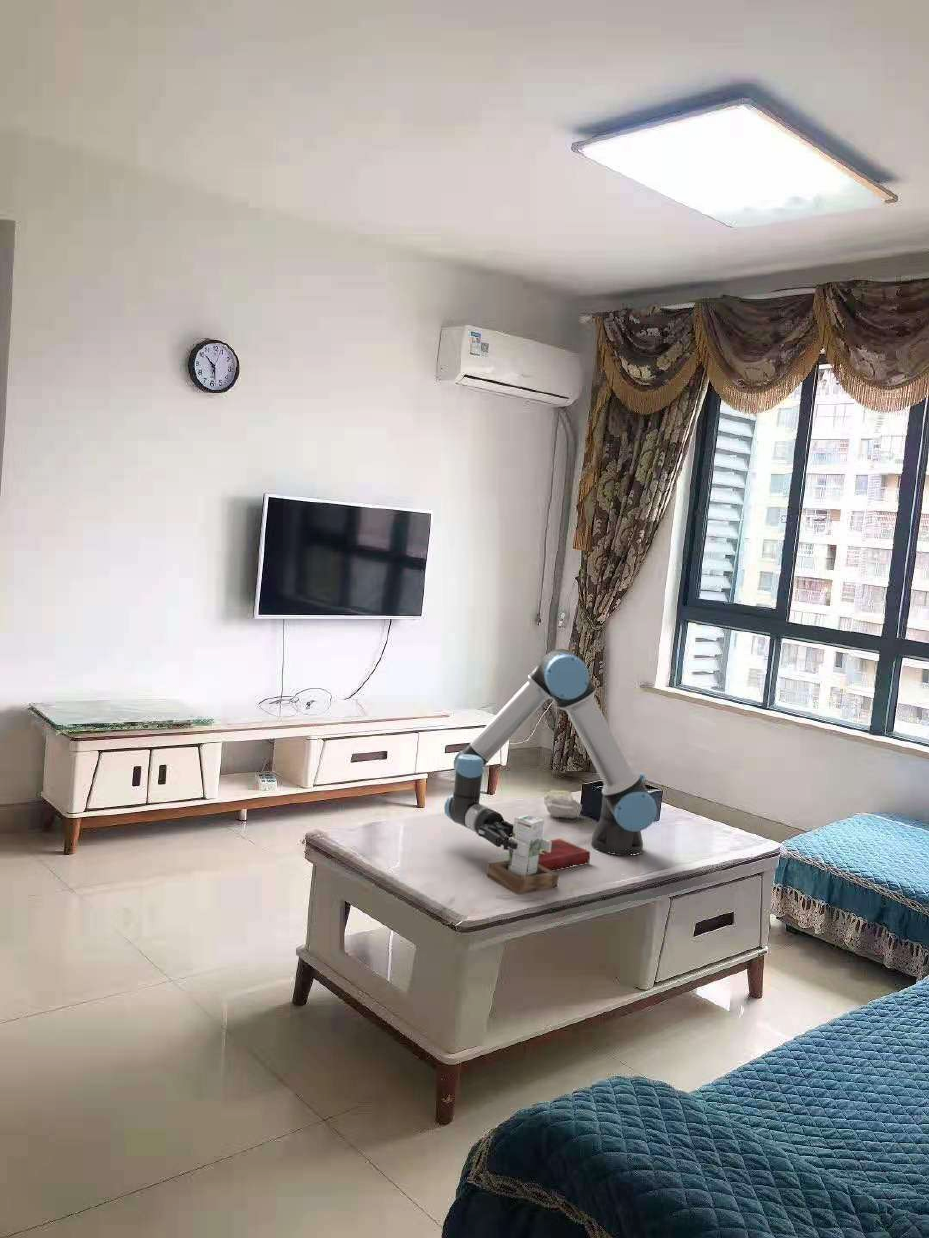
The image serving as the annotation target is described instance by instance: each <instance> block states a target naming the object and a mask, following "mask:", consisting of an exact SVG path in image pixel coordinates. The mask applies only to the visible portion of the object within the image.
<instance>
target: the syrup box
mask: <svg viewBox="0 0 929 1238" xmlns="http://www.w3.org/2000/svg"><path fill="white" fill-rule="evenodd" d="M513 820H514V821H513V825H514V826H513V834H512V837H513V838H515V839H517V840H519V841H521V842H523V843H525V844H527V845H528V851H527V856H524V855H522V854H520V853H518V852H517V851H515V850H513V849H510V857H509V865H508V870H509V871H511V872H513V873H514V874H516V875H519V876H530V875H533V874H535V873H537V870H538V863H539V855H540V848H541V840H542V838H543V832H544V831H543V830H544V825H545V823H544V822H545V820H544V819H542V818H539V817H536V816H533V815H529V814H526V815H525V814H524V815H522V816H519V817H516V818H514V819H513Z"/></svg>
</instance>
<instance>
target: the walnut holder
mask: <svg viewBox="0 0 929 1238" xmlns="http://www.w3.org/2000/svg"><path fill="white" fill-rule="evenodd" d="M508 865H509V861H507V860H503V861H495V862H488V863H487V871H486V872H487V873H486V876H487V878H489V879H491V880H492V881H495V882H496V883H497V884H500V885H501V886H503V887H504V888H506V889H507V890H510V891H511V892H513V893H515V894H517V895H520V894H527V893H532V891H533V892H538V891H537V890H540V891H542V890H541V889H546V890H549V889H557V888H558V884H559V883H558V882H559V876H560V875H559V873H557V872H555V871H551V870H549V869H547V868H545V867H543V866H541V865H540V864H538V870H537V873H535V874H533V875H530V876H519V875H516V874H514V873H513V872H511V871H509V870H508ZM556 887H557V888H556Z"/></svg>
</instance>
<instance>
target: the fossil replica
mask: <svg viewBox="0 0 929 1238" xmlns="http://www.w3.org/2000/svg"><path fill="white" fill-rule="evenodd" d="M543 803H544V805H545V807H546V810H547V812H548V813H549V814H550V815H551V816H553V817H554V818H556V817H557V818H559V817H561V818H560V819H568V818H569V819H570V818H571V819H572V818H573V819H575V818H576V817H578V816H579V815H580V813H581V811H582V809H583V808H582V807H583V805H582V804H581V803H580V802H579V801H578V800H576V799H573V795H572V792H571V791H568V790H556V789H551V790H550V791H548V792H547V793H546V794H545V795H544V798H543ZM562 817H563V818H562ZM565 817H566V818H565Z"/></svg>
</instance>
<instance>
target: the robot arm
mask: <svg viewBox="0 0 929 1238" xmlns="http://www.w3.org/2000/svg"><path fill="white" fill-rule="evenodd" d="M596 691H597V689H596V687H595V685H594V683H593V681H592V678H591V676H590V673H589V669H588V666H587V665H586V663H585V662H584V661H583V660H582V659H581V658H580V657H578V656H577V655H576V654H575V653H574V652H572V651H570V650H568V649H566V648H565V649H563V648H558V649H554V650H552V651H550V652H548V653H546V655H544V657H543V658H542V659H541V660H540V661H539V663H538V664H537V665H536V666H535V667H534V668H533V670H532V671H531V672H530V673H529V674H528V675H527V681H526V683H524V685H523V686H521V688H519V690H518V691H517V692H516V693H515V694H514V695H513V696H512V698H511V699H510V700H509V701H508V702H507V703H506V704H505V705H504V706H503V707H502V708H501V709H500V710H499V712H497V714H496V715H495V716H494V717H493V718H492V719H491V720H490V721H489V722H488V723H487V725H486V726H485V727H484V728H483V729H482V730H481V731H480V732H479V733H478V734H477V736H476V737H474V738H473V740H472V741H471V742H470V743H469V745H467V746H466V747H465V748H464V749H463V750H460V751H458V752H457V754H456V755H455V757H454V760H453V769H454V787H453V793H452V794H450V795H449V796H448V798H446V802H444V808H443V809H444V814H445V815H446V816H447V817H448V818H449V819H450V820H452V822H454V823H456V824H458V825H460V826H463V827H465V828H467V829H468V830H471V831H472V832H474V833H475V834H476V835H478V837H481V838H483V839H485V840H487V841H488V842H489V843H491V844H493V845H494V846H495V847H497V848H502V849H503V850H505V851H509V850H508V848H511V849H513V850H515V851H517V852H518V853H520V854H522V855H524V856H527V851H528V845H527V844H525V843H523V842H521V841H519V840H517V839H515V838H513V837H512V834H513V826H514V823H510V822H508V821H506V820H505V819H504V818H503V815H502V814H501V813H499V812H497V811H496V810H494V809H491V807H488V806H485V805H484V804H482V803H480V799H481V789H482V782H483V773H484V771H485V770H484V768H485V766H486V765H487V763H489V762H490V761H491V759H492V758H493V757H495V755H496V754H497V753H498V752H499V751H500V750H501V748H503V747H504V745H505V744H506V743H508V742H509V740H511V738H512V737H513V736H514V735H515V734H516V733H517V732H518V731H519V729H520V728H521V727H522V726H523V725H524V724H525V723H526V722H527V721H528V720H529V719H530V718H531V717H532V716H533V714H535V713H536V712H537V710H538V709H539V708H540V707H541V706H542V705H543V704H544V703H545V701H547V700H550V699H551V700H552V699H553V700H554V702H555V703H556V706H557V707H558V709H559V710H563V711H565V712H566V713H567V715H568V718H569V719H570V721H571V723H572V725H573V727H574V728H575V731H576V732H577V735H578V737H579V739H580V741H581V743H582V745H583V746H584V749H585V750H586V752H587V754H588V757H589V758H590V760H591V762H592V764H593V766H594V768H595V770H596V772H597V774H598V776H599V778H600V780H601V782H602V783H603V787H602V790H601V794H602V799H601V800H602V801H601V808H600V809H601V810H600V817H599V821H598V823H597V824H596V827H595V829H594V831H593V833H592V836H591V841H590V844H591V846H592V847H593V846H594V847H595V848H594V847H593V848H594V849H596V848H597V849H596V850H598V849H599V850H598V851H600V850H601V851H600V852H602V851H604V852H603V853H606V852H610V853H615V854H620V855H619V856H622V855H631V854H632V855H633V854H637V853H640V852H642V853H643V850H644V849H643V847H644V841H643V837H642V832H641V831H644V830H646V829H648V828H649V827H650V826H652V824H653V823H654V821H655V819H656V816H657V812H658V811H657V810H658V809H657V805H656V804H657V803H656V801H655V799H654V798H653V797H652V796H651V794H650V792H649V791H648V789H647V787H646V783H647V781H646V776H645V774H644V773H641V772H636V771H632V770H631V768H630V765H629V763H628V762H627V759H626V758H625V755H624V754H623V751H622V749H621V748H620V746H619V744H618V742H617V740H616V738H615V736H614V734H613V732H612V730H611V727H610V726H609V724H608V723H607V720H606V718H605V716H604V715H603V712H602V710H601V708H600V706H599V704H598V702H597V700H596V698H595V695H596V694H595V693H596ZM551 845H552V842H550V841H549V840H548V839H546V838H544V837H542V840H541V848H540V849H542V850H544V851H546V852H548V853H550V852H551ZM502 846H503V847H502Z"/></svg>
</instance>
